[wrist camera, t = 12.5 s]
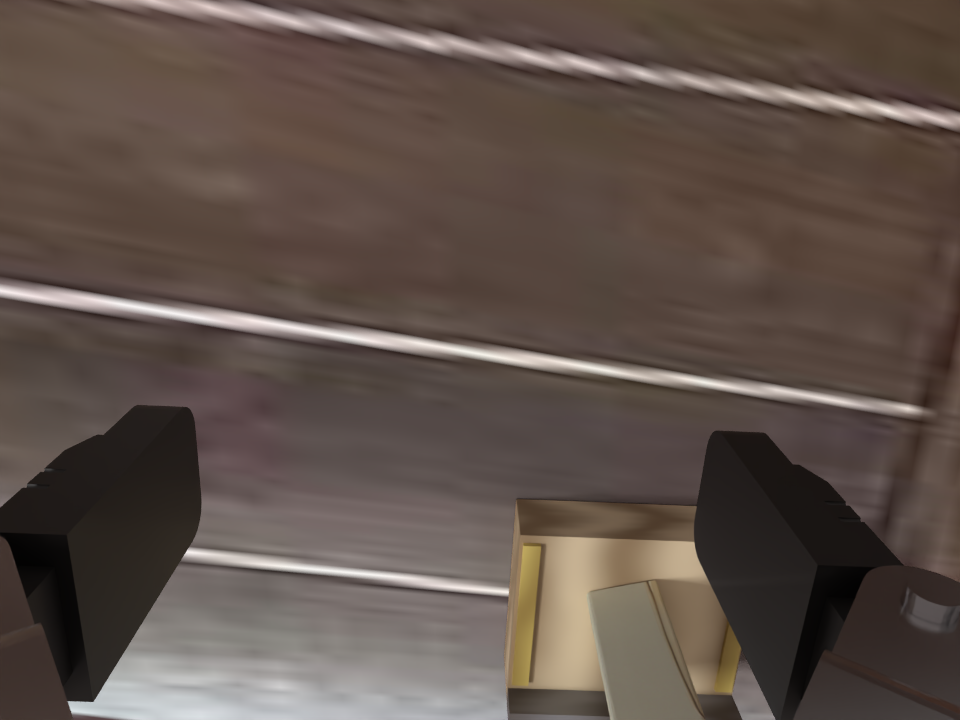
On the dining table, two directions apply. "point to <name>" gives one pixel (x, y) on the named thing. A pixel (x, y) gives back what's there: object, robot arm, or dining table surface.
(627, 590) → the skincare box
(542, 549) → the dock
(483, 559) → the dining table surface
